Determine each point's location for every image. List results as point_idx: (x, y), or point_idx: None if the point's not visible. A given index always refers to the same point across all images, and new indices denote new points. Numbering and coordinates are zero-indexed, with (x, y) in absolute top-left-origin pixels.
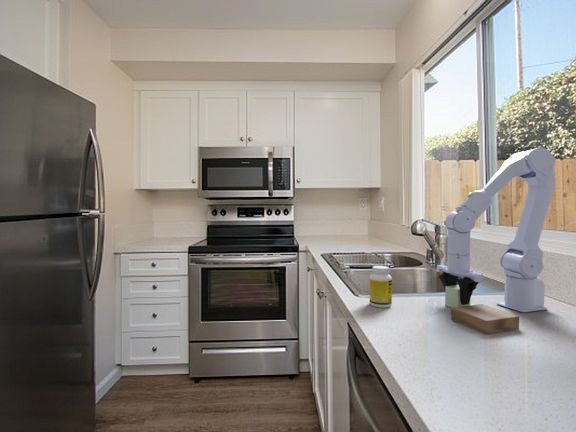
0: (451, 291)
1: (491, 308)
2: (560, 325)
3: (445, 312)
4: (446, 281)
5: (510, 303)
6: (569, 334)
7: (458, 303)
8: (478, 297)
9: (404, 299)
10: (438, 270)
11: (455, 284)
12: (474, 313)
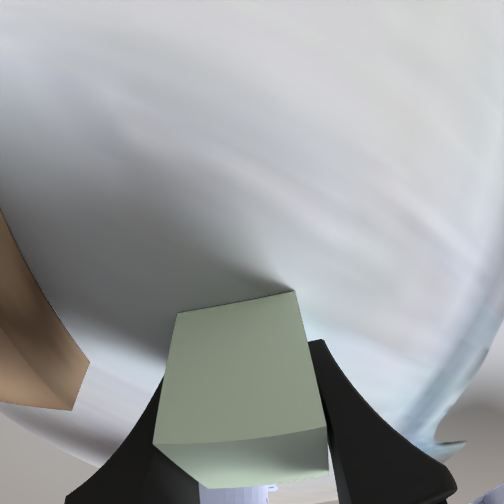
0: (234, 408)
1: (14, 394)
2: (70, 448)
3: (108, 201)
4: (344, 475)
5: None
6: (12, 419)
7: (172, 351)
8: None
9: (484, 65)
10: (502, 498)
11: (334, 472)
12: None
